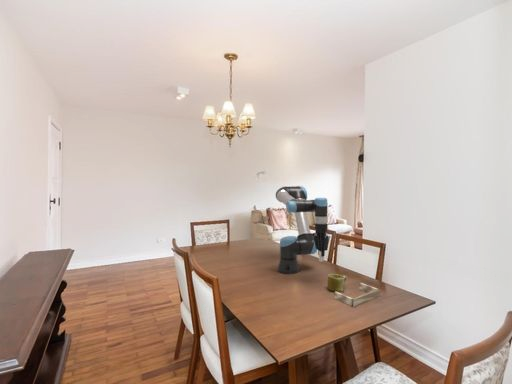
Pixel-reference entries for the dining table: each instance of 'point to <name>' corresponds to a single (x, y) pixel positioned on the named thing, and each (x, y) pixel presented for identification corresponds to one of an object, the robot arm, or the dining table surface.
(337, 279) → the mug
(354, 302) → the cradle
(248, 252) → the dining table surface
